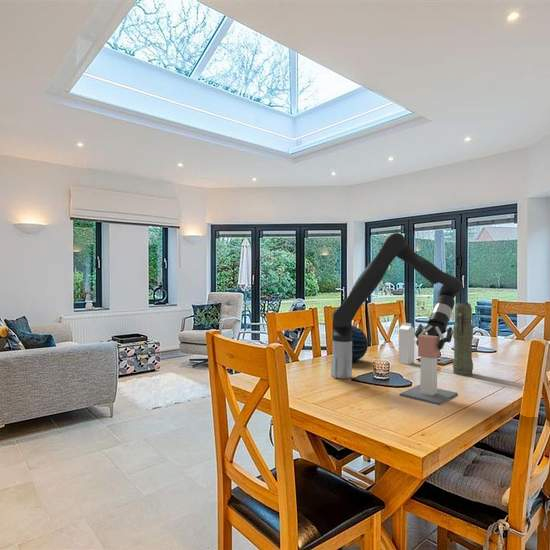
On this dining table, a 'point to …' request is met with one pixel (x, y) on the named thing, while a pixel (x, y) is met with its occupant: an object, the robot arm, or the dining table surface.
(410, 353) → the milk
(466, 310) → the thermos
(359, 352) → the decorative sphere
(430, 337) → the cap
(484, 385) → the dining table surface
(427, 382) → the square base with post
